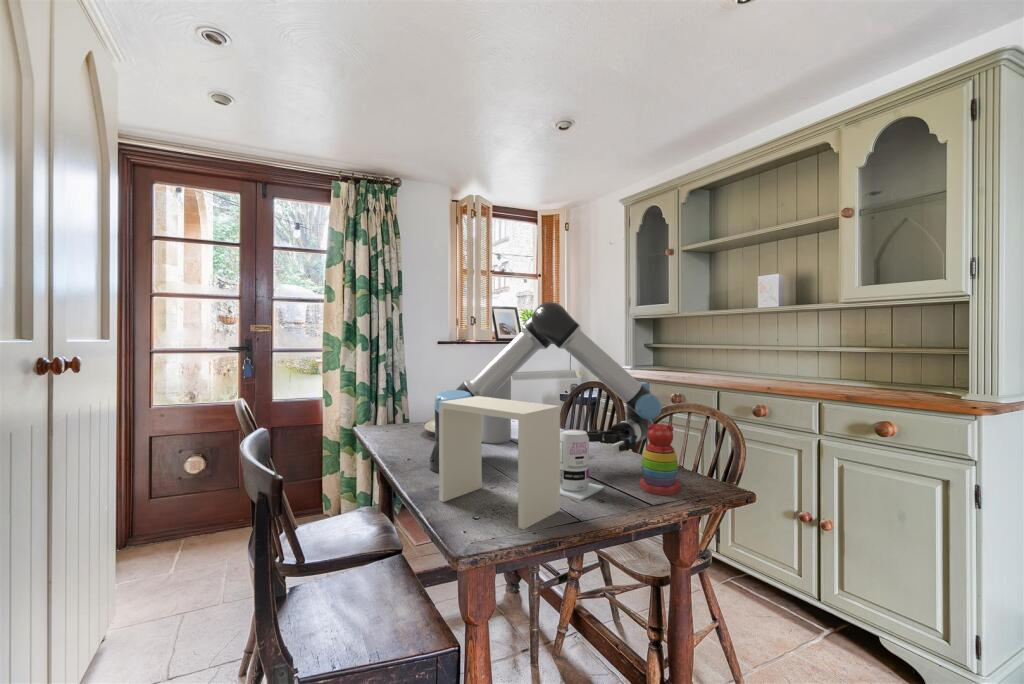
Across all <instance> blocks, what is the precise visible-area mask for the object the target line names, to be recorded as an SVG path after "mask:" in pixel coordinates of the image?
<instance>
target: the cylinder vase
mask: <svg viewBox="0 0 1024 684" xmlns="http://www.w3.org/2000/svg"><path fill="white" fill-rule="evenodd" d="M490 398H498V399H506V400H512V376H511V377H510V378H509V379H508V380H507V381H506V382H505V383H504V384H503V385H502V386H501V387H500V388H499V389H498V390H497V391H496V392H495V393H494V394H493V395H492V396H491V397H490ZM511 439H512V419H508V418H501V417H495V416H489V415H482V443H484V444H491V445H493V444H494V445H496V444H499V445H500V444H505V443H508V442H509V441H511Z"/></svg>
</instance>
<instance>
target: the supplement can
mask: <svg viewBox="0 0 1024 684" xmlns="http://www.w3.org/2000/svg"><path fill="white" fill-rule="evenodd" d="M586 431H587V430H580V429H563V430H560V487H561V488H562V489H563V490H566V491H575V492H576V491H583V490H585V489H586V488H587V487H588V486H589V483H590V480H589V479H590V442H589V437H588V435H587V432H586Z"/></svg>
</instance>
